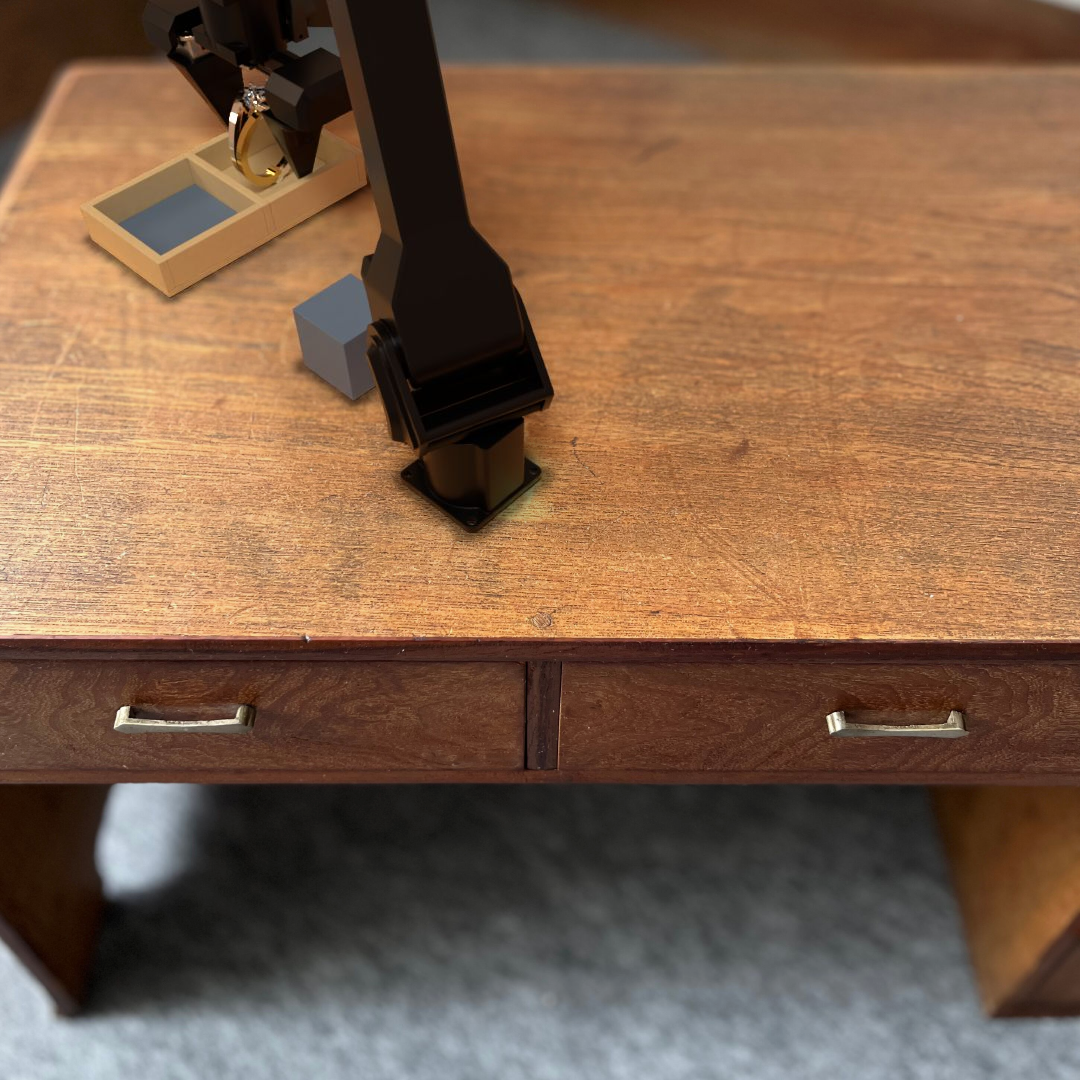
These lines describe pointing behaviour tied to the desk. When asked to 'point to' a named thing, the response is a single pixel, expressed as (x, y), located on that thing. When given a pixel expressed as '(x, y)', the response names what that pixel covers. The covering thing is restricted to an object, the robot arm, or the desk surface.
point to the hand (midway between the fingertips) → (273, 158)
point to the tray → (215, 207)
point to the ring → (240, 141)
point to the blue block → (337, 335)
